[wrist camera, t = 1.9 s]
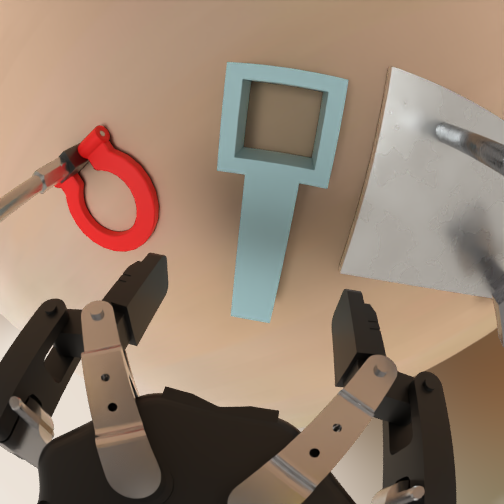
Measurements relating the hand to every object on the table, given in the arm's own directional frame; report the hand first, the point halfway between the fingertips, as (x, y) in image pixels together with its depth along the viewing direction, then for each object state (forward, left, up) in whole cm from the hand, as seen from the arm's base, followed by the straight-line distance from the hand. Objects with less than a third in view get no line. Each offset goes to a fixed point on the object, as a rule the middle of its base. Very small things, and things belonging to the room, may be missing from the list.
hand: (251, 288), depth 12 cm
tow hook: (+1, -13, -9) cm, 16 cm away
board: (-4, +15, -9) cm, 18 cm away
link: (0, 0, -9) cm, 9 cm away
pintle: (-8, +10, -9) cm, 16 cm away
